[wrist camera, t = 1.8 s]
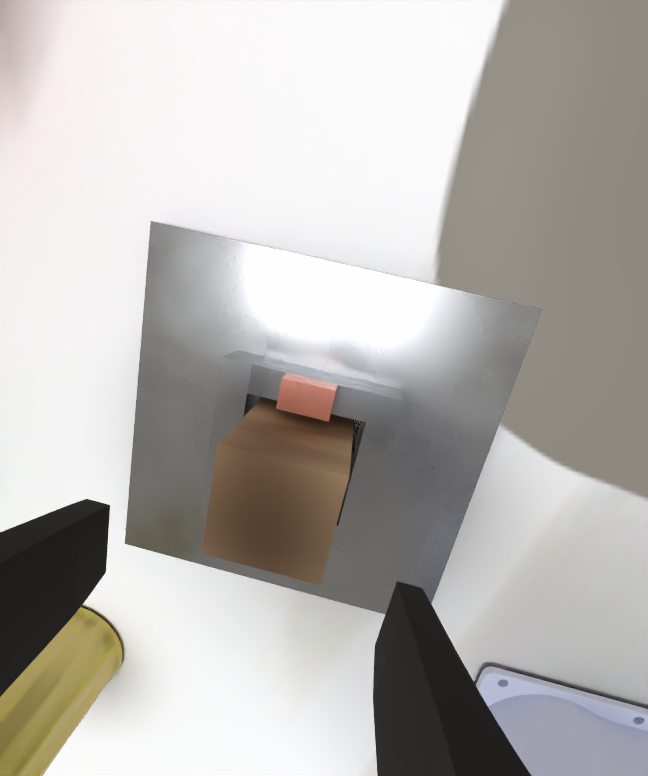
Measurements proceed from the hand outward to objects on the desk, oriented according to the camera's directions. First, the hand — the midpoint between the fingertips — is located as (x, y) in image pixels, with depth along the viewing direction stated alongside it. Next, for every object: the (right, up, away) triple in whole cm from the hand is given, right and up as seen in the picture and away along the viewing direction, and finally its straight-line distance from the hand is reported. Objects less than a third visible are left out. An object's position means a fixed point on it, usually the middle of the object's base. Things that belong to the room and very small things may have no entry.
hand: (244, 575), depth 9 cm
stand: (+1, +2, +9) cm, 9 cm away
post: (+1, +2, +9) cm, 9 cm away
